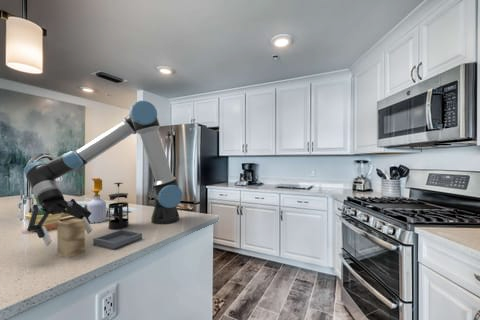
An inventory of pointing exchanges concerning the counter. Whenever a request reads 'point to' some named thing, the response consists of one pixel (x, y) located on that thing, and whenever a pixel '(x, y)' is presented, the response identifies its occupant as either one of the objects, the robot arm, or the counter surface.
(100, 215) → the soap bottle
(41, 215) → the potted cactus
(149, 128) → the robot arm
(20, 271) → the counter surface
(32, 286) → the counter surface
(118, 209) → the french press
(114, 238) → the slate tray
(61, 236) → the oak block
